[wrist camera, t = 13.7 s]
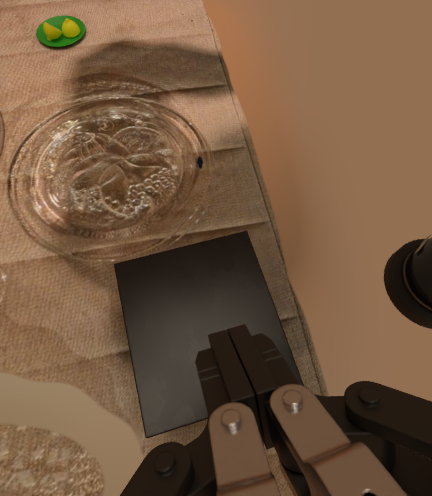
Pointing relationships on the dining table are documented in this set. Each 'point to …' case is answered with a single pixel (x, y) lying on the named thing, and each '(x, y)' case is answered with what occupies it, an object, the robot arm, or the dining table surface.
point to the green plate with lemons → (60, 31)
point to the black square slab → (190, 321)
